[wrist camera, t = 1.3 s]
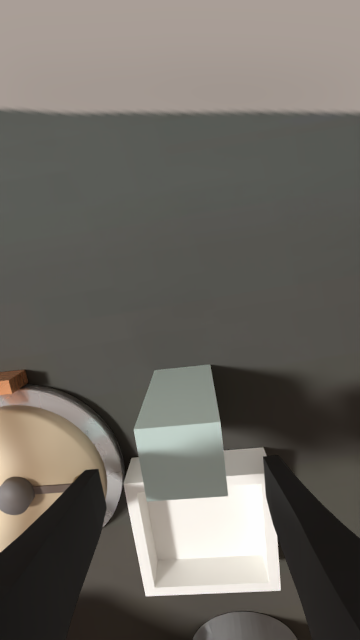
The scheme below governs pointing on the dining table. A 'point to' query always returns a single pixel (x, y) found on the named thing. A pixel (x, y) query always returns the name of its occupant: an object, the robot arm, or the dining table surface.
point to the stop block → (181, 436)
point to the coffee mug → (244, 628)
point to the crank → (38, 465)
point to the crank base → (17, 392)
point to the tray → (207, 534)
